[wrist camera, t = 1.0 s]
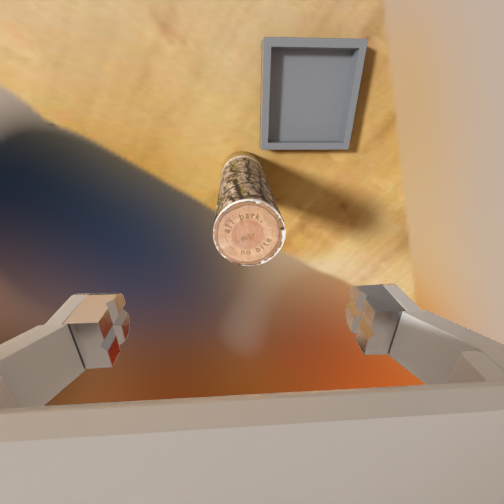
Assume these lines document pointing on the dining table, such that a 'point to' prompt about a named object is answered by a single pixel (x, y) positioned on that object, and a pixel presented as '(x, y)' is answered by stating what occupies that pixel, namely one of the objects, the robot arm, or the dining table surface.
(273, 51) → the tray
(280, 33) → the dining table surface
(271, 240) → the paper tube
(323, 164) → the dining table surface
